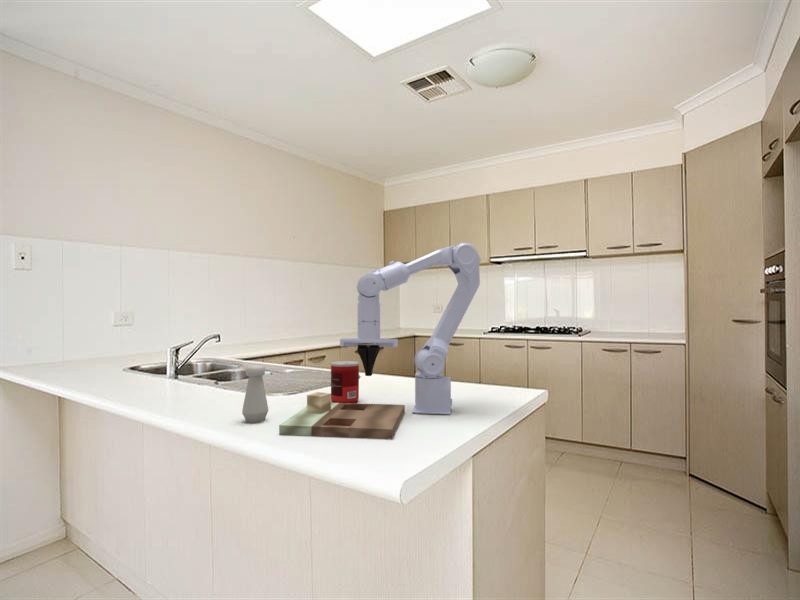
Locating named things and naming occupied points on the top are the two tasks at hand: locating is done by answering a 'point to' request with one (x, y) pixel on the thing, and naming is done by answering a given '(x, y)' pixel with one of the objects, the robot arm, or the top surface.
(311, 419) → the trap deck
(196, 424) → the top surface
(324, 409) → the maple block
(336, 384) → the canned food
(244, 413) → the salt shaker
